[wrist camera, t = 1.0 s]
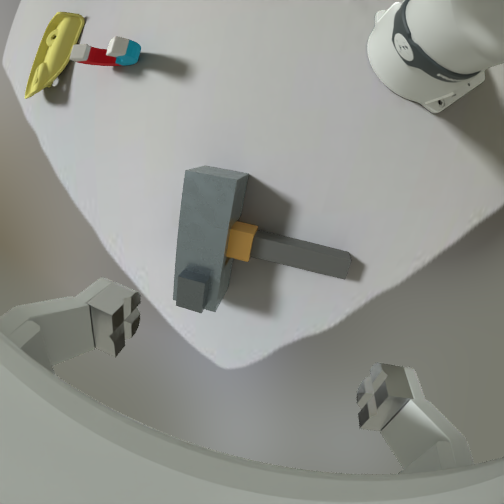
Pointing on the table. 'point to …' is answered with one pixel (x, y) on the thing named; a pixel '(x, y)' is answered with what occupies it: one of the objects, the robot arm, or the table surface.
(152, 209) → the table surface
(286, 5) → the table surface
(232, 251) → the plug
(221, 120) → the table surface
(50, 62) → the plastic component
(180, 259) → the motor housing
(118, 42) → the magnet
